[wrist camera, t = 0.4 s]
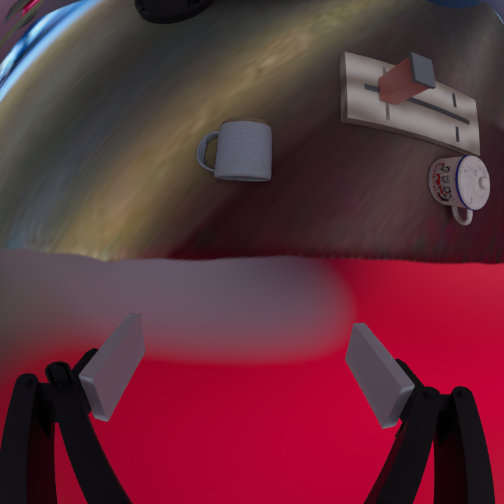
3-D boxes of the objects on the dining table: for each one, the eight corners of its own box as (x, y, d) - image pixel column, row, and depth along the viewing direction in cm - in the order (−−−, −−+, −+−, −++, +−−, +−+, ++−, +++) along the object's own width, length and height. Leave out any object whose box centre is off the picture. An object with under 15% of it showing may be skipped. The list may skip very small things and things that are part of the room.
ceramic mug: (270, 129, 38) (275, 115, 31) (268, 181, 40) (273, 179, 33) (200, 128, 38) (189, 115, 31) (197, 180, 40) (186, 178, 33)
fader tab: (377, 77, 33) (411, 51, 23) (395, 82, 33) (431, 60, 23) (379, 101, 34) (415, 80, 24) (397, 106, 34) (435, 88, 24)
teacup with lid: (422, 157, 40) (465, 153, 28) (455, 157, 39) (497, 154, 28) (429, 224, 42) (471, 234, 31) (461, 218, 42) (502, 227, 31)
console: (339, 59, 36) (345, 51, 33) (466, 102, 37) (475, 100, 34) (341, 121, 38) (347, 117, 35) (470, 156, 39) (480, 155, 36)
